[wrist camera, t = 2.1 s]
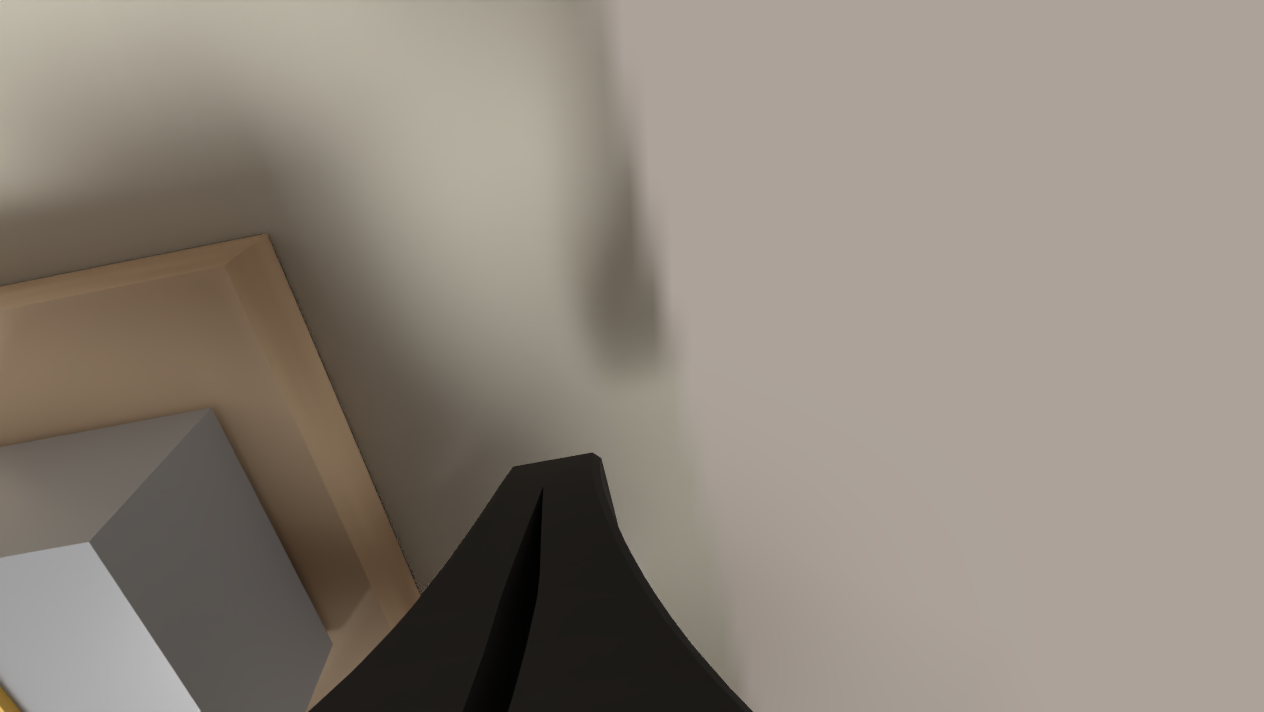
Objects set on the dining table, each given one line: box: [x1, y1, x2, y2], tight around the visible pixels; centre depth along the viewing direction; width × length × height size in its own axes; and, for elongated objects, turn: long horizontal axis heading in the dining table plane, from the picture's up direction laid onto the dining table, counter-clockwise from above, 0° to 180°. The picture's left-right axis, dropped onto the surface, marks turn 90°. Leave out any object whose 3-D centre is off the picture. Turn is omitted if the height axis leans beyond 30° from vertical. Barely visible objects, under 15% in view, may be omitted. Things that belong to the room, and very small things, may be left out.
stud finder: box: [0, 408, 333, 712], centre depth 11 cm, size 5×4×3 cm
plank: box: [0, 233, 420, 712], centre depth 15 cm, size 15×12×2 cm
